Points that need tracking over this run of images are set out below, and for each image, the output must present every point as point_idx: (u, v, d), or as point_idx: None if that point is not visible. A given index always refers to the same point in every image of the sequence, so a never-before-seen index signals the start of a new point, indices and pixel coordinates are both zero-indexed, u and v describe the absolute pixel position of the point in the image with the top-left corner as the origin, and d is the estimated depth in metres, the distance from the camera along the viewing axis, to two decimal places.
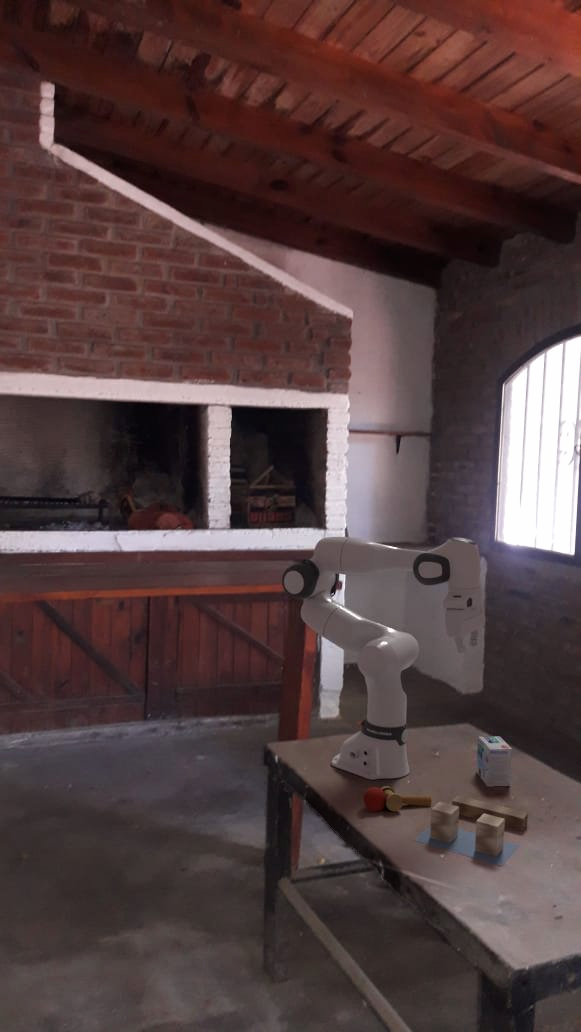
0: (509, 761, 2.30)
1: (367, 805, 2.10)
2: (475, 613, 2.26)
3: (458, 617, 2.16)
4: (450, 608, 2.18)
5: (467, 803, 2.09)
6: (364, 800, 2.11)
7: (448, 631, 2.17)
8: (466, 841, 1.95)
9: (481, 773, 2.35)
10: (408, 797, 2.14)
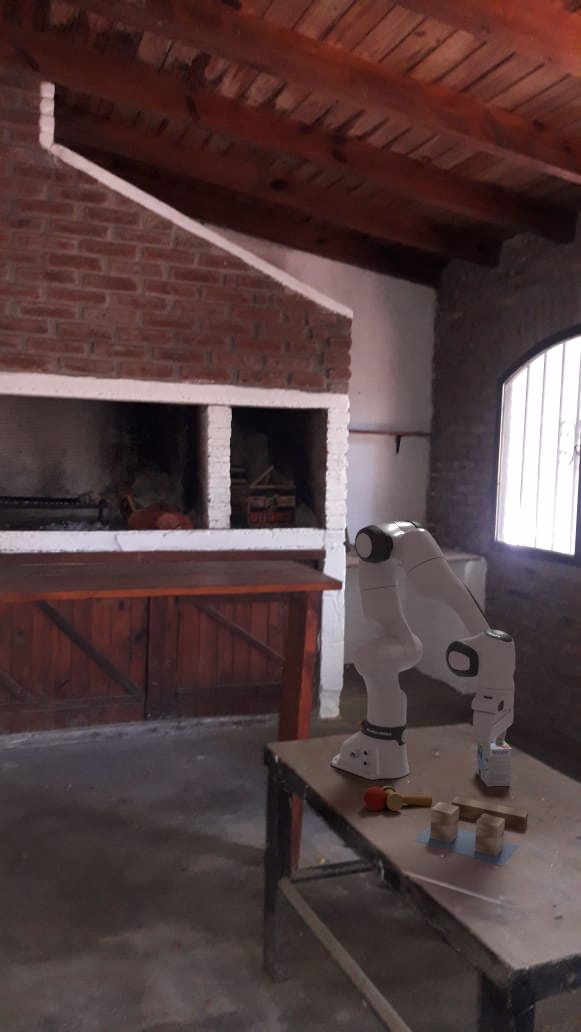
0: (509, 761, 2.30)
1: (368, 804, 2.10)
2: (504, 712, 2.08)
3: (487, 722, 1.97)
4: (479, 710, 1.99)
5: (467, 804, 2.09)
6: (365, 799, 2.11)
7: (475, 736, 1.98)
8: (466, 841, 1.95)
9: (481, 773, 2.35)
10: (409, 797, 2.14)
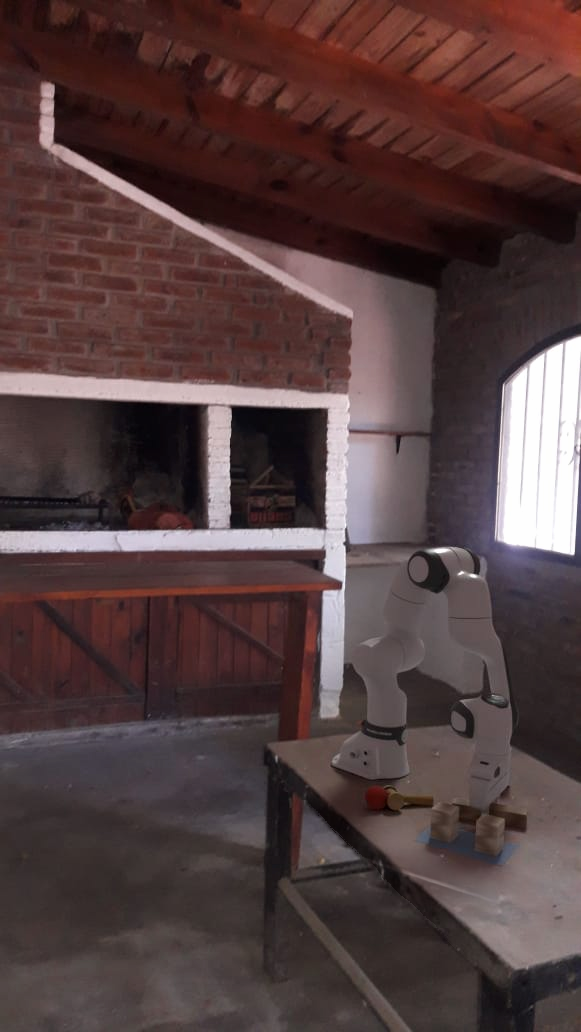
0: None
1: (368, 803, 2.11)
2: None
3: (483, 789, 1.98)
4: (476, 776, 2.00)
5: (467, 804, 2.08)
6: (365, 798, 2.12)
7: (471, 802, 2.00)
8: (466, 841, 1.95)
9: None
10: (410, 796, 2.14)
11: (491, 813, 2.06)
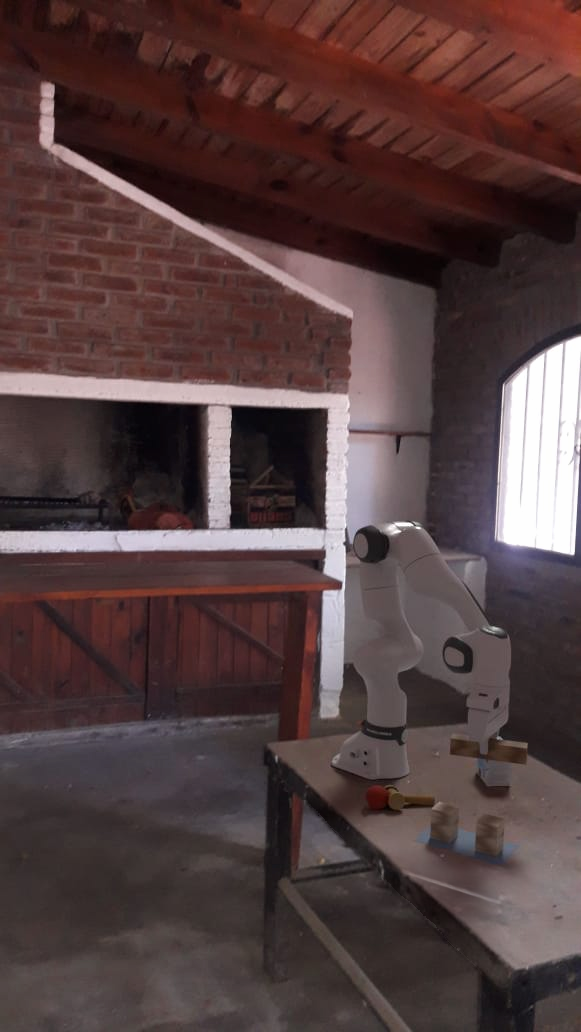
0: None
1: (369, 803, 2.11)
2: (499, 710, 2.04)
3: (482, 720, 1.93)
4: (474, 708, 1.95)
5: (466, 739, 2.03)
6: (366, 798, 2.12)
7: (470, 734, 1.95)
8: (466, 841, 1.95)
9: (481, 773, 2.35)
10: (411, 796, 2.14)
11: (490, 747, 2.01)
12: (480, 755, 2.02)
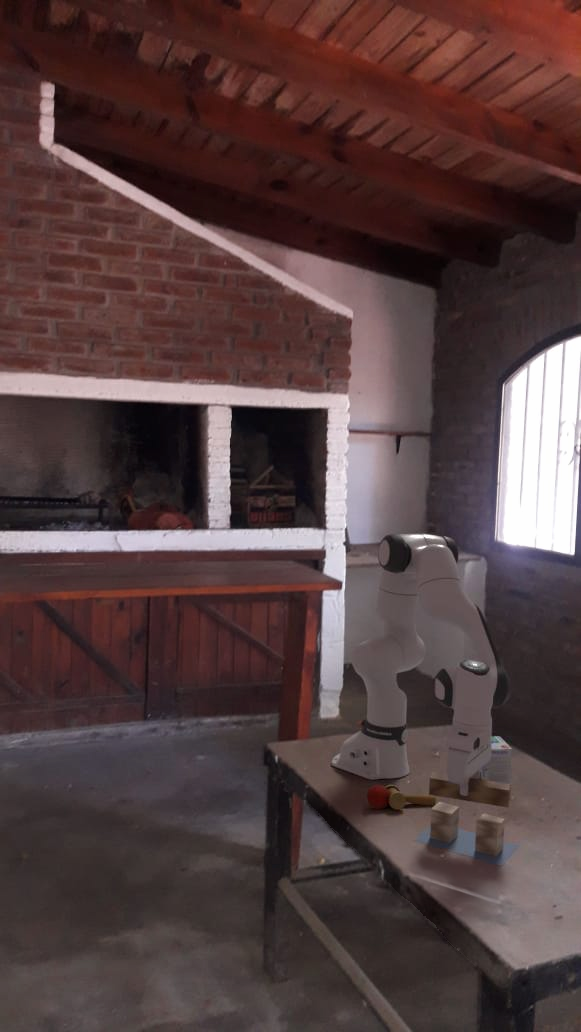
0: (509, 761, 2.30)
1: (370, 802, 2.12)
2: None
3: (462, 762, 1.84)
4: (453, 748, 1.86)
5: (446, 779, 1.94)
6: (367, 797, 2.13)
7: (449, 775, 1.85)
8: (466, 841, 1.95)
9: (481, 773, 2.35)
10: (412, 796, 2.14)
11: (471, 788, 1.91)
12: (460, 796, 1.92)
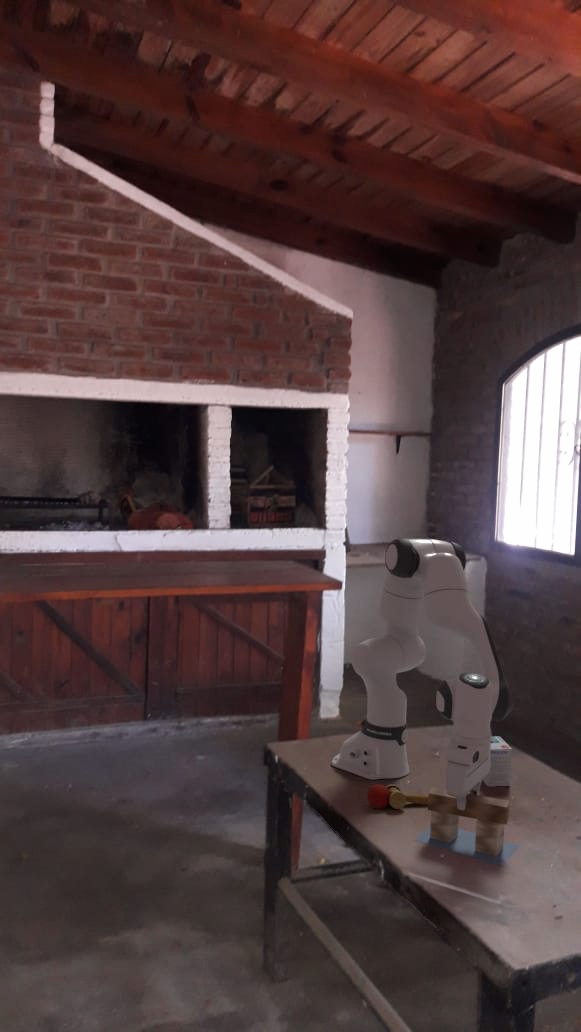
0: (509, 761, 2.30)
1: (370, 802, 2.12)
2: None
3: (461, 775, 1.84)
4: (453, 761, 1.86)
5: (445, 795, 1.94)
6: (368, 797, 2.13)
7: (448, 789, 1.85)
8: (466, 841, 1.95)
9: None
10: (413, 796, 2.15)
11: (470, 805, 1.92)
12: (459, 812, 1.93)
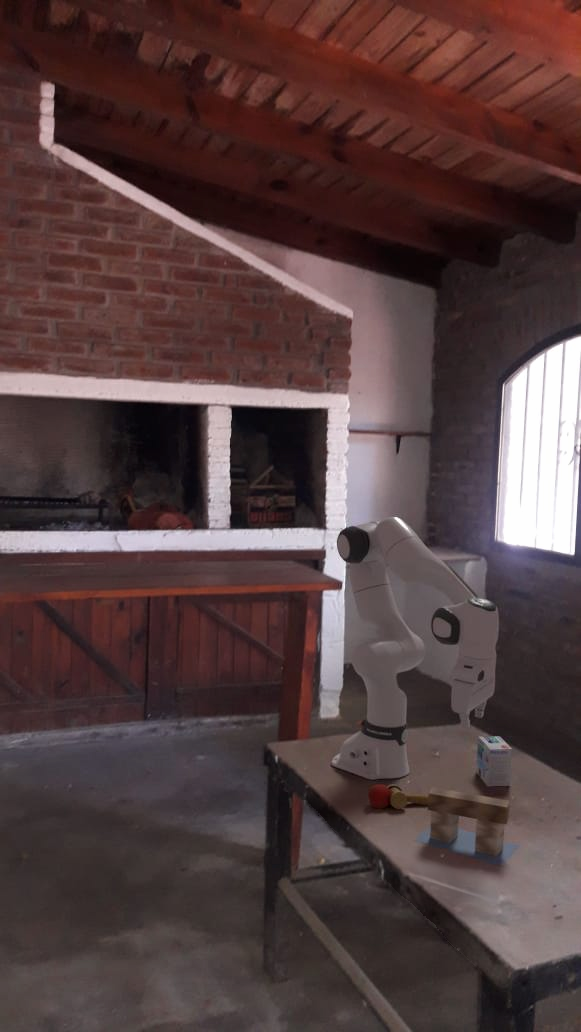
0: (509, 761, 2.30)
1: (371, 802, 2.12)
2: (485, 683, 2.03)
3: (466, 692, 1.92)
4: (458, 680, 1.94)
5: (445, 795, 1.94)
6: (369, 797, 2.13)
7: (453, 705, 1.94)
8: (466, 841, 1.95)
9: (481, 773, 2.35)
10: (414, 796, 2.15)
11: (470, 805, 1.92)
12: (459, 812, 1.93)
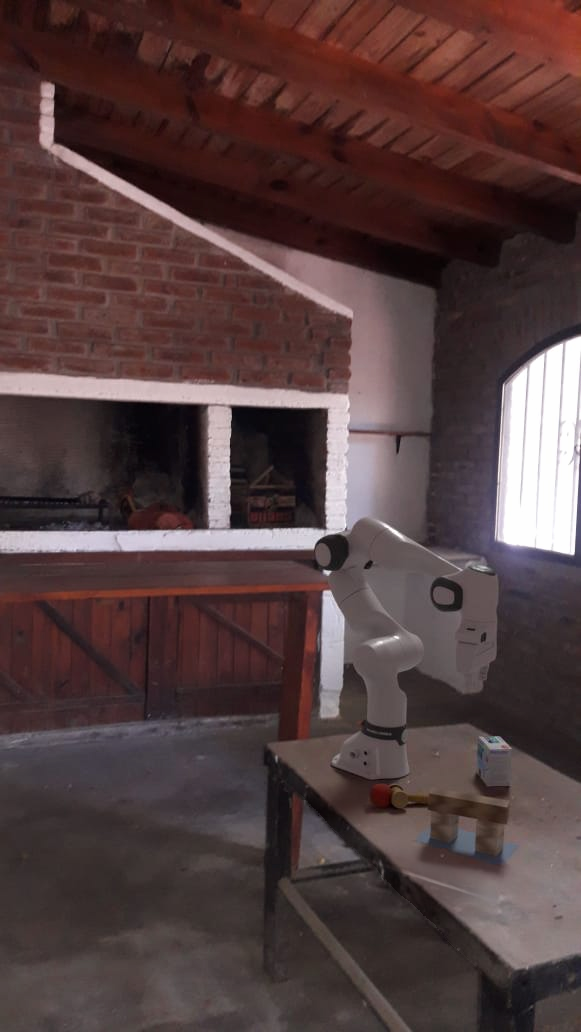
0: (509, 761, 2.30)
1: (373, 801, 2.13)
2: (487, 646, 2.12)
3: (470, 653, 2.02)
4: (462, 641, 2.04)
5: (445, 795, 1.94)
6: (370, 796, 2.14)
7: (458, 666, 2.03)
8: (466, 841, 1.95)
9: (481, 773, 2.35)
10: (415, 795, 2.15)
11: (470, 805, 1.92)
12: (459, 812, 1.93)
